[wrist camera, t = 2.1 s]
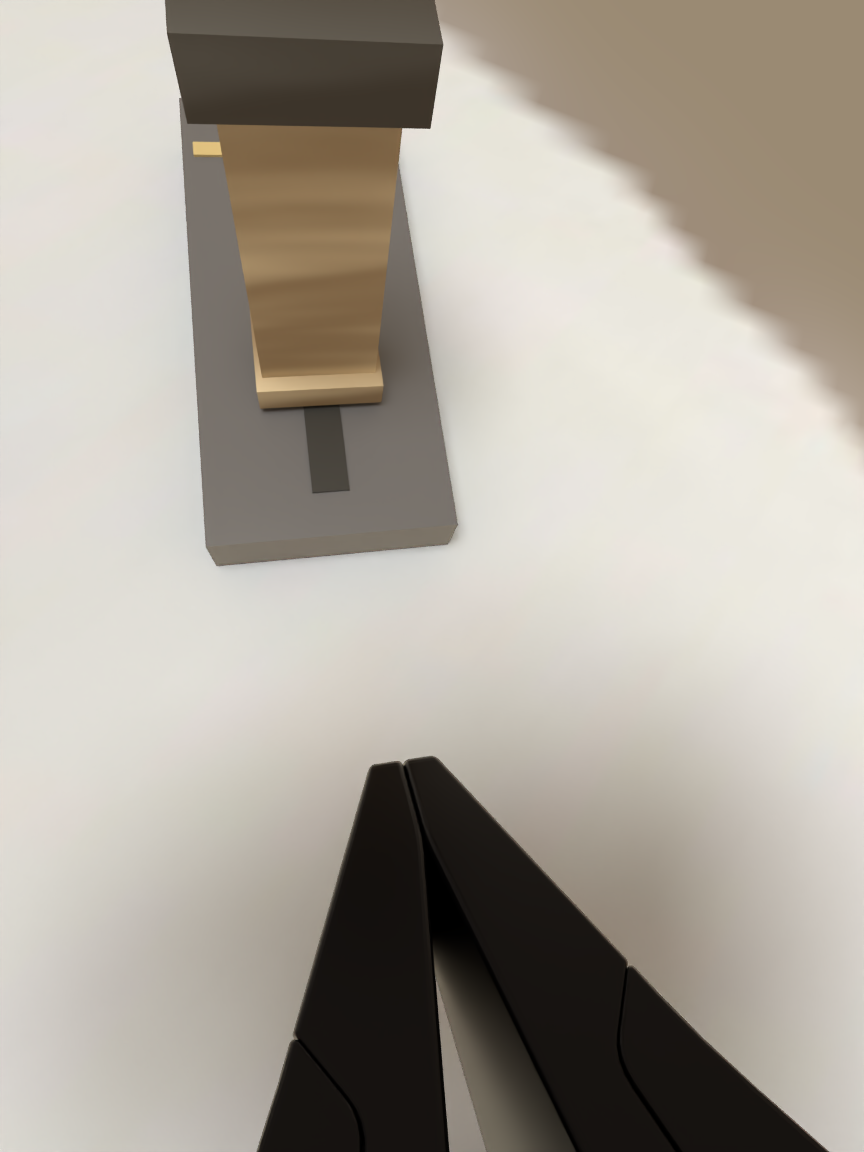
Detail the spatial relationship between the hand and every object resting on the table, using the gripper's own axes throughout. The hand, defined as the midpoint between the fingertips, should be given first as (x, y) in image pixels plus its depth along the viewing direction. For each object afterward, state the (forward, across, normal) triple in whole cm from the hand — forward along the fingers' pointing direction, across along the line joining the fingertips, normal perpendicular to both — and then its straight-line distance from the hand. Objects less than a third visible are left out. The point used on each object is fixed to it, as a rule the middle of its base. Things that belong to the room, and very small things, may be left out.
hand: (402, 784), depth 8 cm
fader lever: (+17, 0, -2) cm, 17 cm away
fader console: (+21, 0, -2) cm, 21 cm away
